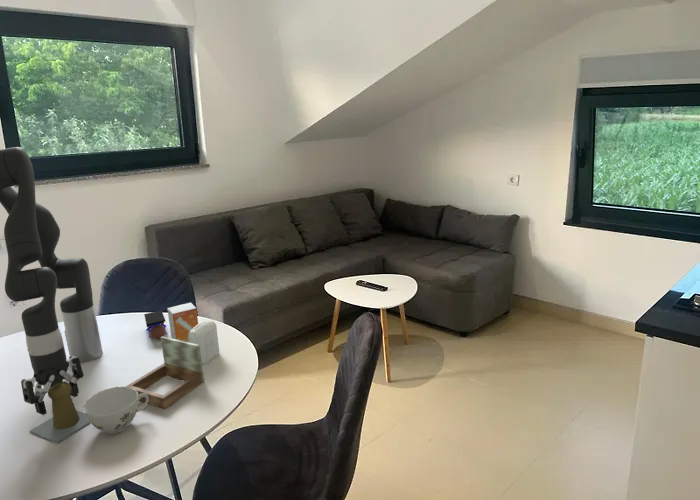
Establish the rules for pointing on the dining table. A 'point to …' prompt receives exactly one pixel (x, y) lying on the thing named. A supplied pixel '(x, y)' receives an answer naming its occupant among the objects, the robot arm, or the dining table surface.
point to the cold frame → (173, 373)
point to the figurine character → (155, 324)
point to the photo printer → (205, 339)
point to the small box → (182, 320)
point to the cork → (63, 406)
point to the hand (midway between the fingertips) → (59, 404)
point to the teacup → (113, 408)
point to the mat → (59, 435)
